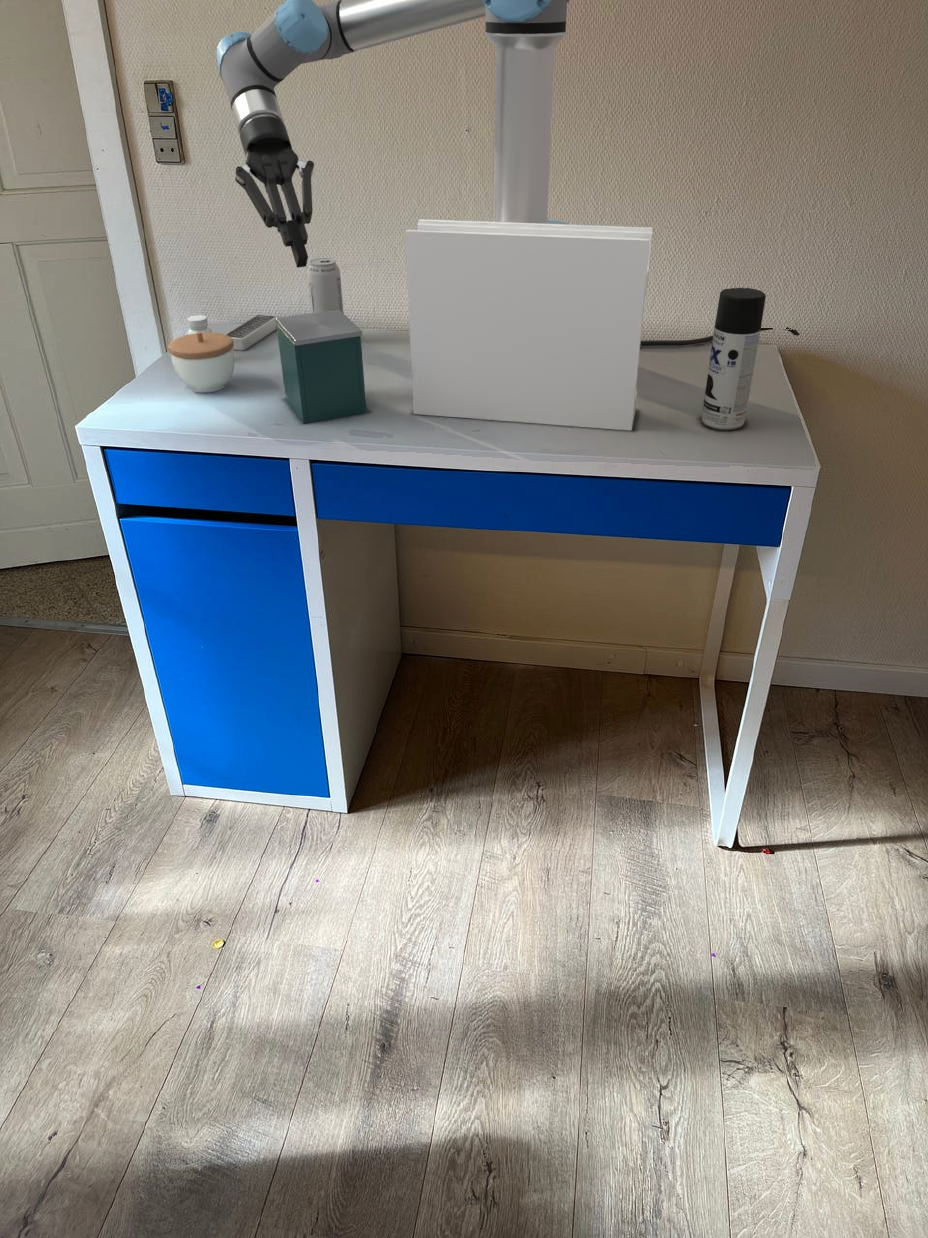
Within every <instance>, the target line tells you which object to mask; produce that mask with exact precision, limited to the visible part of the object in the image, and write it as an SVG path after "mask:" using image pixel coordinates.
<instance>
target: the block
mask: <svg viewBox="0 0 928 1238" xmlns="http://www.w3.org/2000/svg"><path fill="white" fill-rule="evenodd" d="M416 228H417V229H406V230H405V231H404V232H405V233H404V234H405V255H406V279H407V298H408V300H407V301H408V319H409V320H408V321H409V342H410V344H409V345H410V363H411V385H412V405H413V415H421V416H422V415H425V416H436V417H450V418H460V419H461V418H463V419H475V420H487V421H499V422H501V421H502V422H513V423H525V424H526V423H528V424H540V425H552V426H565V427H578V428H590V429H591V428H592V429H605V430H606V429H607V430H617V431H630V432H632V430H633V425H634V420H635V414H636V408H637V398H638V389H637V384H638V374H639V363H640V353H641V346H640V343H641V341H642V332H643V322H644V310H645V303H646V296H647V291H648V284H649V275H650V273H649V272H650V262H651V253H652V244H653V233H654V227H650V226H648V227H645V226H619V225H592V224H570V225H567V224H539V223H511V222H493V221H478V220H451V219H426V218H425V219H423V218H420V219H417V227H416Z"/></svg>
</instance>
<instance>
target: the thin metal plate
mask: <svg viewBox="0 0 928 1238" xmlns="http://www.w3.org/2000/svg"><path fill="white" fill-rule="evenodd" d="M343 313H344V312H343ZM343 313H342V312H341V311H340V310H339V309H338V310H331V311H324V312H316V313H312V312H309V313H302V314H297V315H296V314H295V315H289V316H288V315H287V316H280V317H277V318H275V319H276V324H277V325H278V326H279V327H280V328H281V329H282V330H283V332H284V333H285V334H286V335H287V336H288V337H289V338H290V340H291V341H292V342H293V343H294V344H295V345H296V346H297V345H304V344H310V343H317V342H324V341H331V340H337V339H344V338H351V337H358V336H361V337H363V329H361V328H360V327H359V326H358V325H356V324H355V322H353V321H352V319H350V318H349V317H348V316H347V315H346V314H345V313H344V314H343Z"/></svg>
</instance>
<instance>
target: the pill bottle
mask: <svg viewBox="0 0 928 1238" xmlns="http://www.w3.org/2000/svg"><path fill="white" fill-rule="evenodd" d="M187 325H188V328H189V329H188V330H187V335H190V334H196V332H202V333H213V331H212V329H211V328H210V327H209V322H208V317H207V315H203V314H198V315H197V314H196V315H191V316H189V317H187Z"/></svg>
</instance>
